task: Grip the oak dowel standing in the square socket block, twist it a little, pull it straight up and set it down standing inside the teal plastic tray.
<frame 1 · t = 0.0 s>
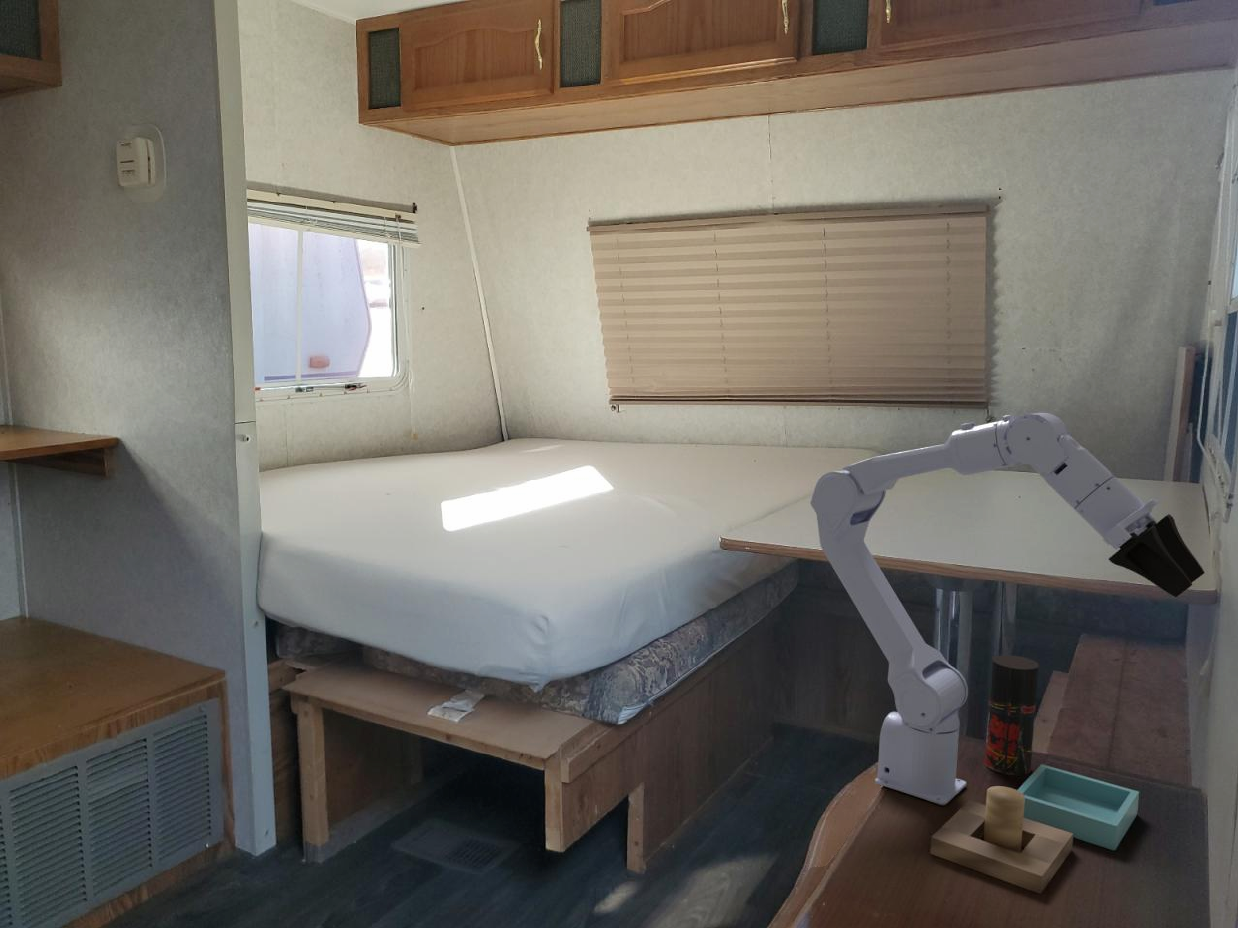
hand: (1190, 584, 102), 32 cm above the counter, tool tilted 50°, fingers open, 7 cm apart
dowel: (1003, 823, 108), in the socket block
deodorant: (1007, 767, 131), on the counter
socket block: (1001, 851, 108), on the counter
tray: (1074, 815, 117), on the counter
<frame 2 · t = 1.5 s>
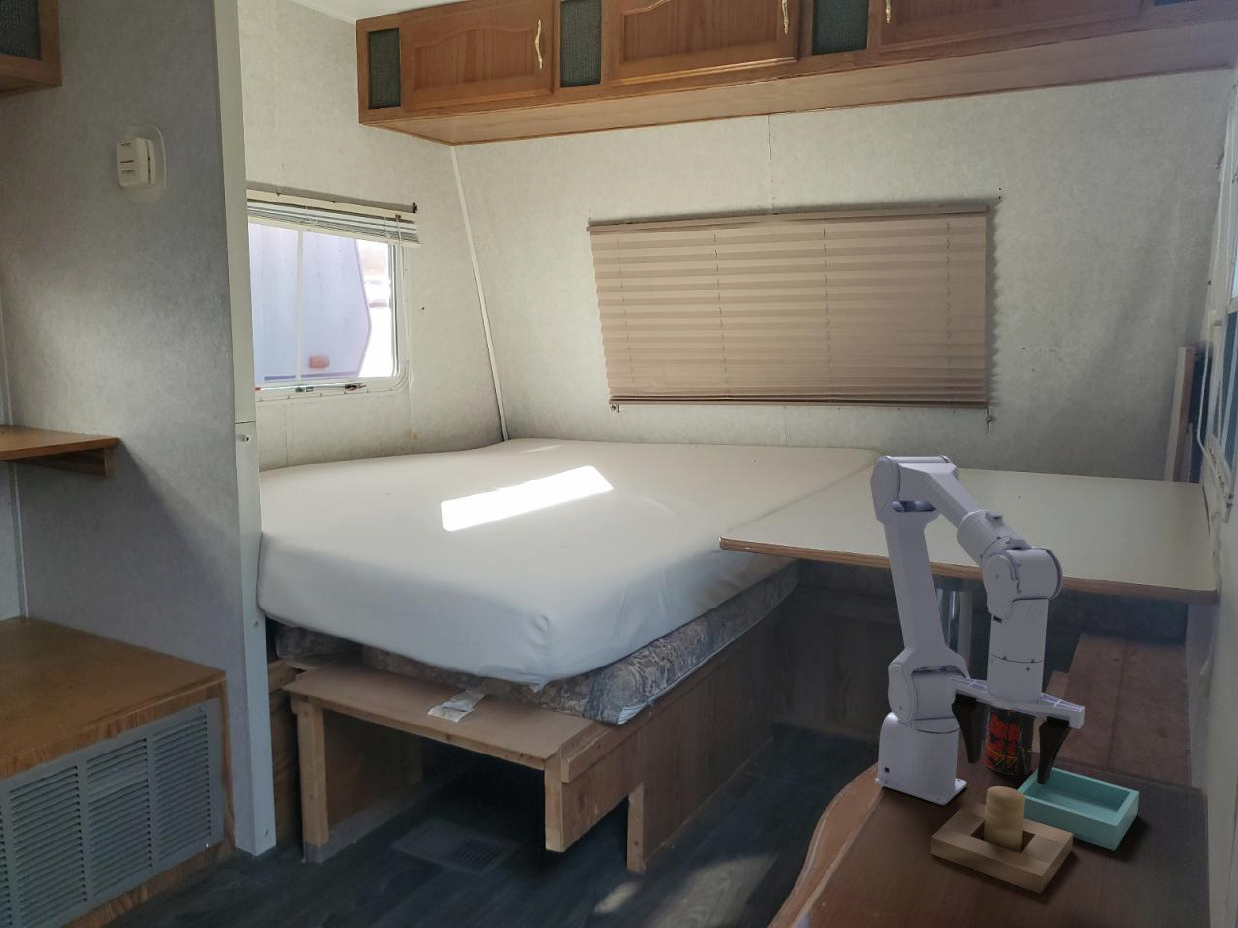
hand: (1007, 770, 107), 10 cm above the counter, tool pointing down, fingers open, 7 cm apart
nothing on the counter moved.
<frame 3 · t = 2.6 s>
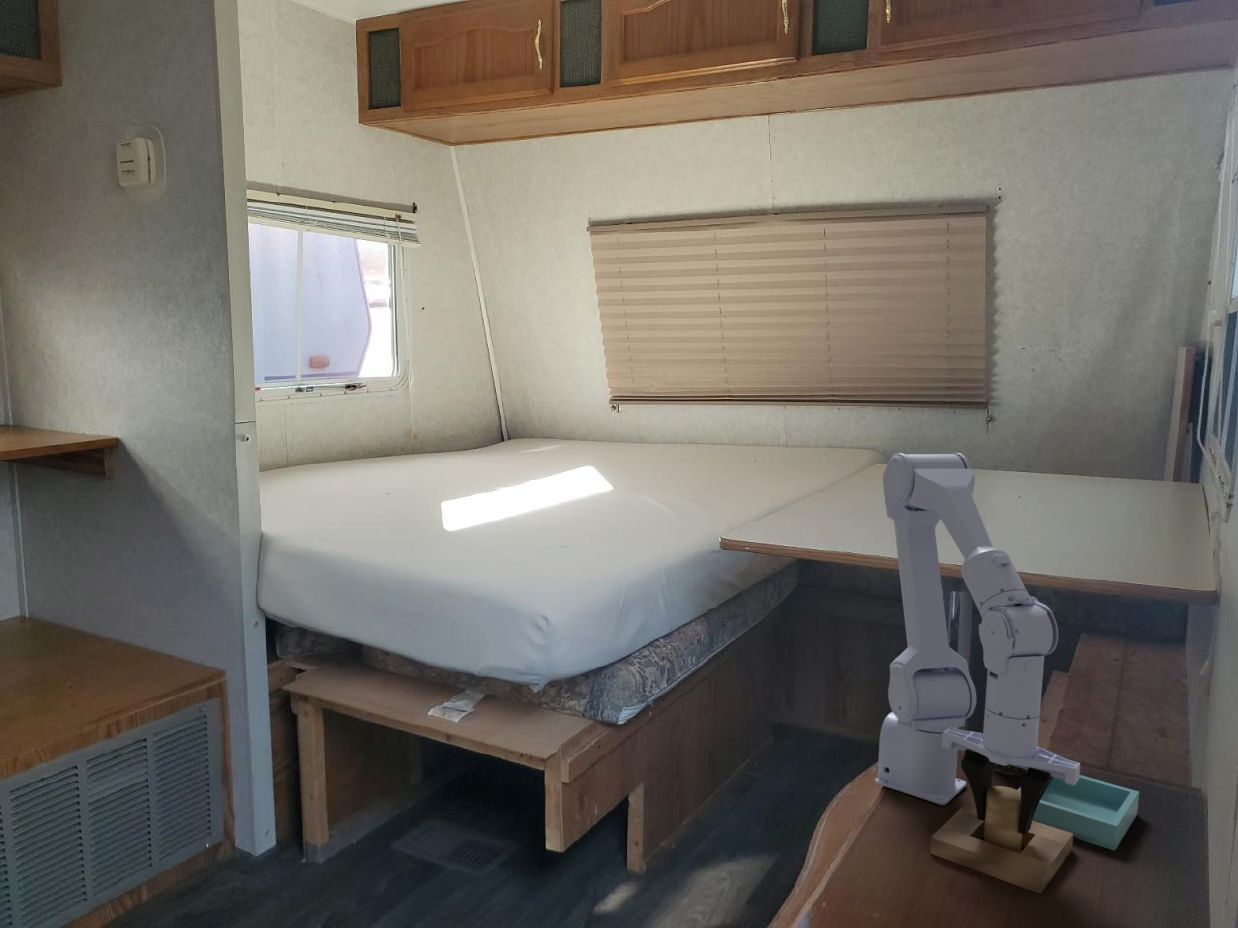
hand: (1003, 823, 108), 3 cm above the counter, tool pointing down, fingers closed on dowel, 4 cm apart
dowel: (1003, 822, 108), in the socket block, touching gripper
everything else where it was.
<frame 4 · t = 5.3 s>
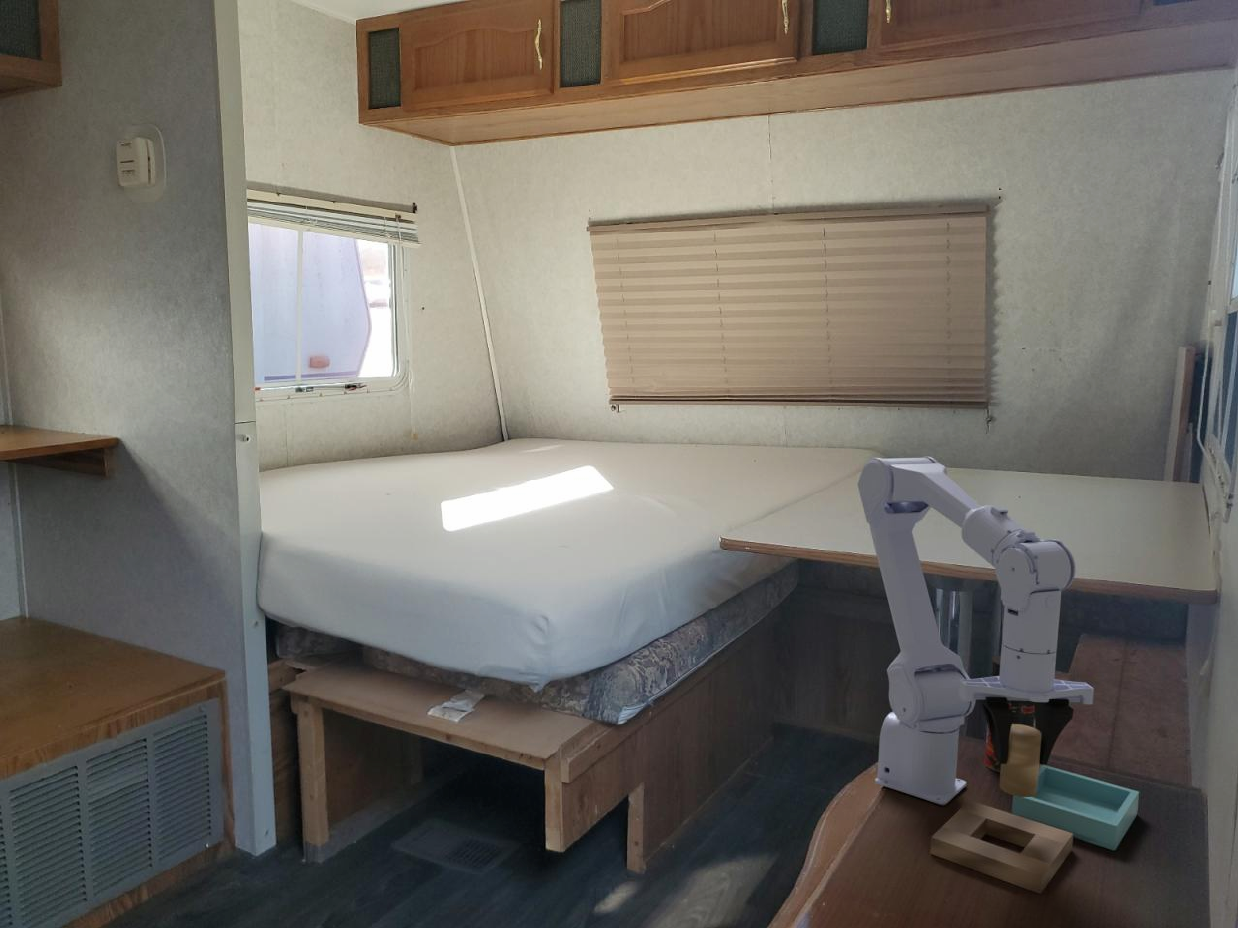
hand: (1020, 760, 108), 10 cm above the counter, tool pointing down, fingers closed on dowel, 4 cm apart
dowel: (1020, 759, 108), point 10 cm above the counter, touching gripper
everything else where it was.
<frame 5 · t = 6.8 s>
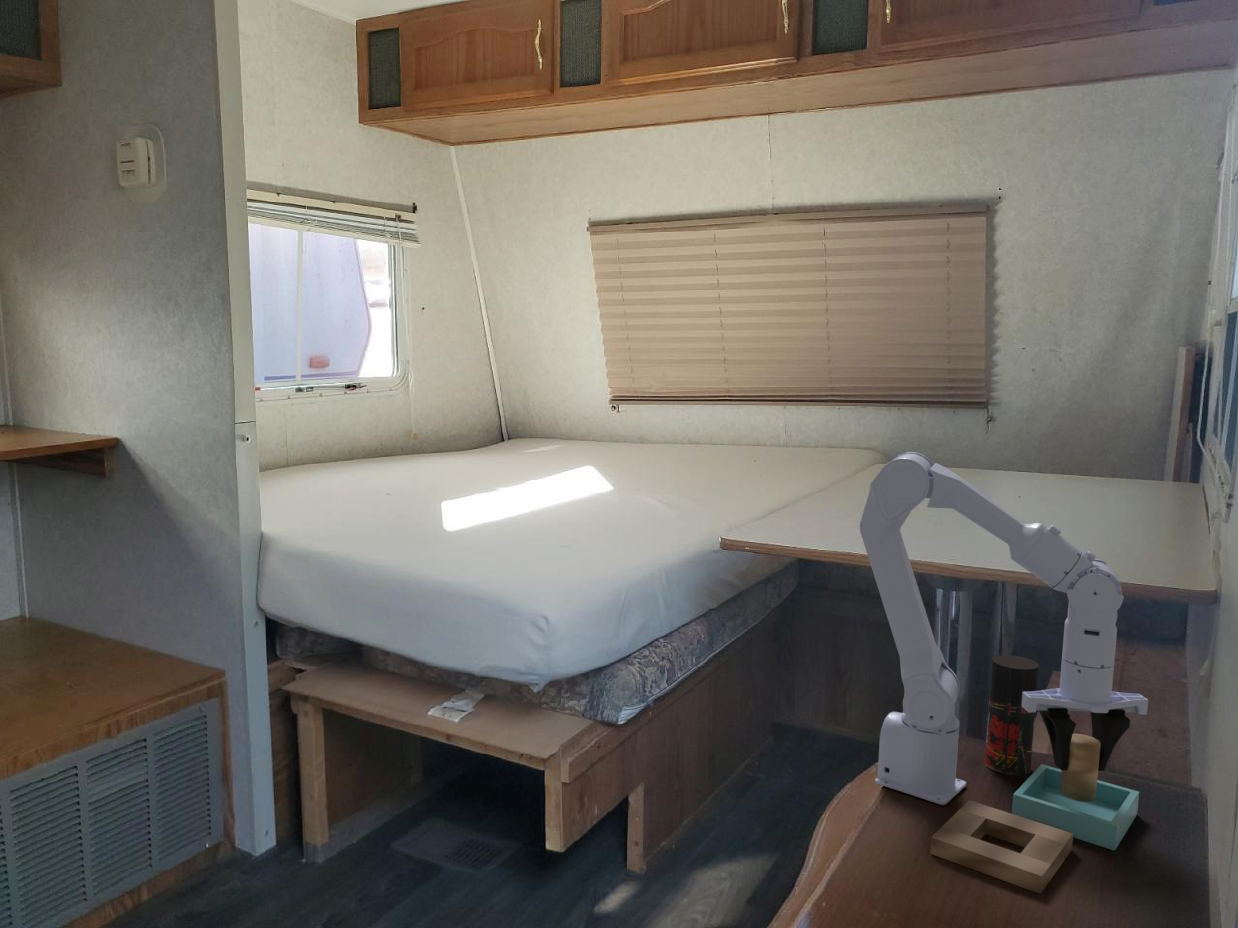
hand: (1079, 767, 116), 6 cm above the counter, tool pointing down, fingers closed on dowel, 4 cm apart
dowel: (1080, 767, 116), point 6 cm above the counter, touching gripper
everything else where it was.
when the fingers open (5 cm above the counter, at t = 7.9 s): dowel stays where it is, resting on tray.
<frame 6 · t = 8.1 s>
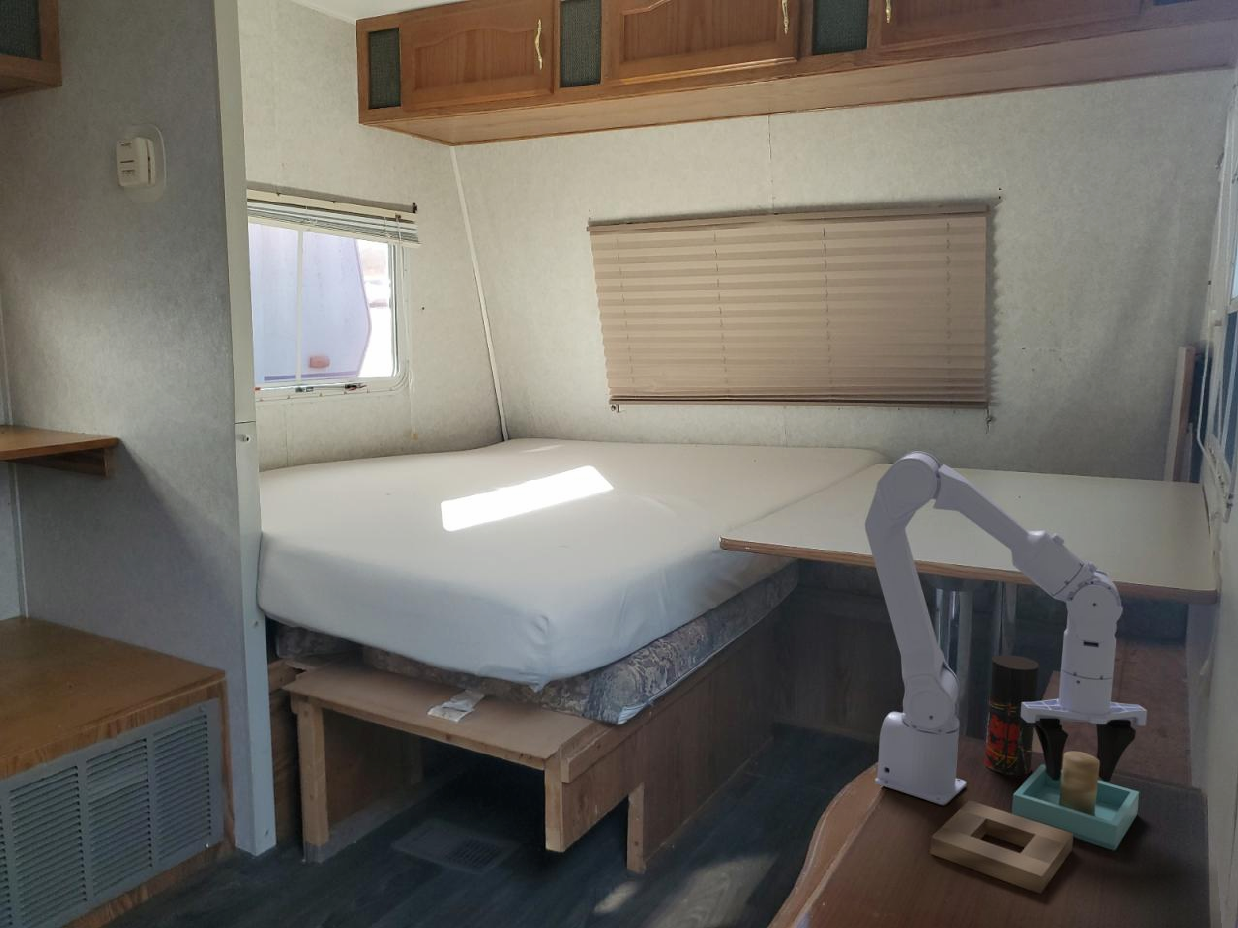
hand: (1077, 777, 116), 5 cm above the counter, tool pointing down, fingers open, 6 cm apart
dowel: (1078, 785, 116), in the tray, point 4 cm above the counter
everything else where it was.
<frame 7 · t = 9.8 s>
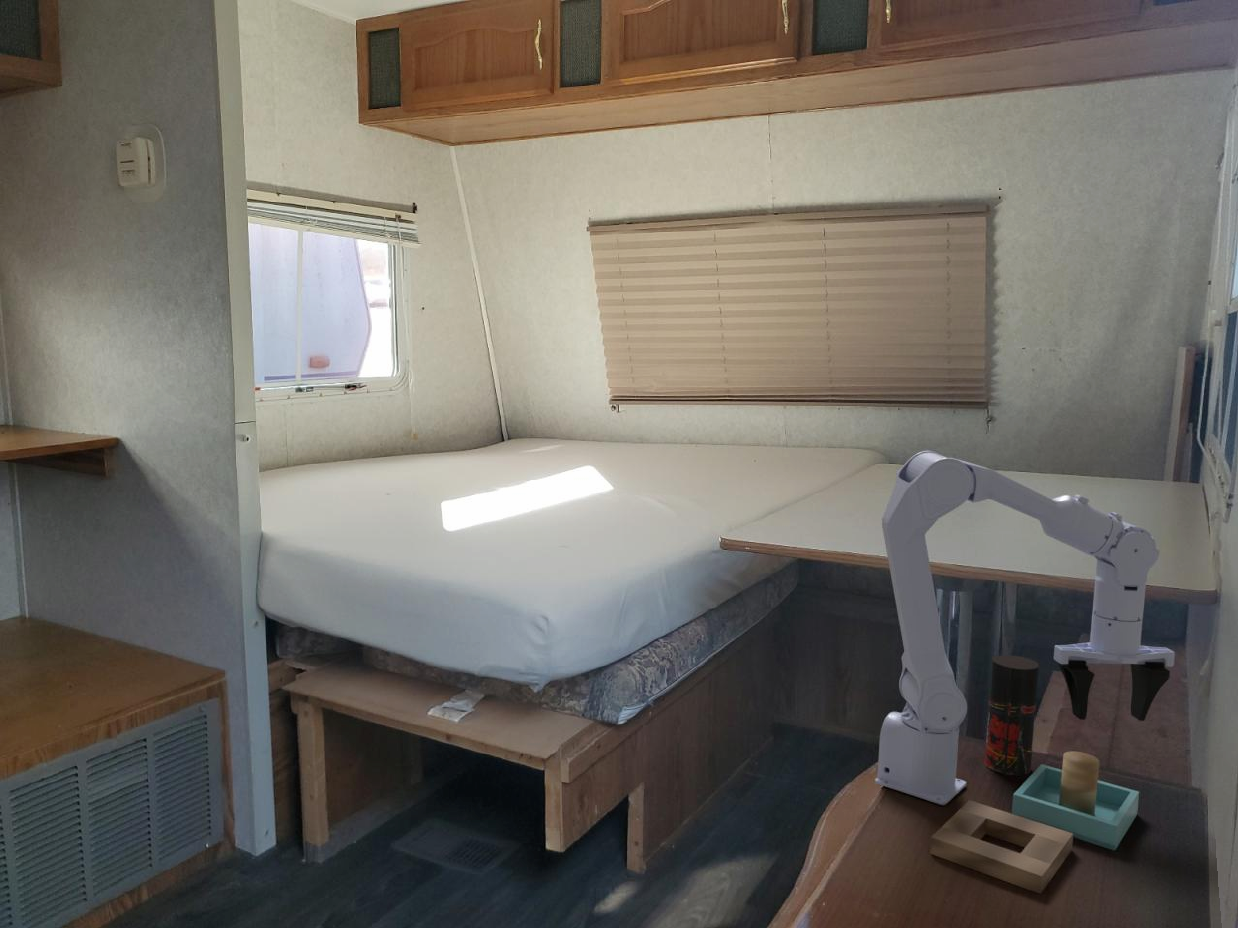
hand: (1108, 717, 122), 10 cm above the counter, tool pointing down, fingers open, 7 cm apart
nothing on the counter moved.
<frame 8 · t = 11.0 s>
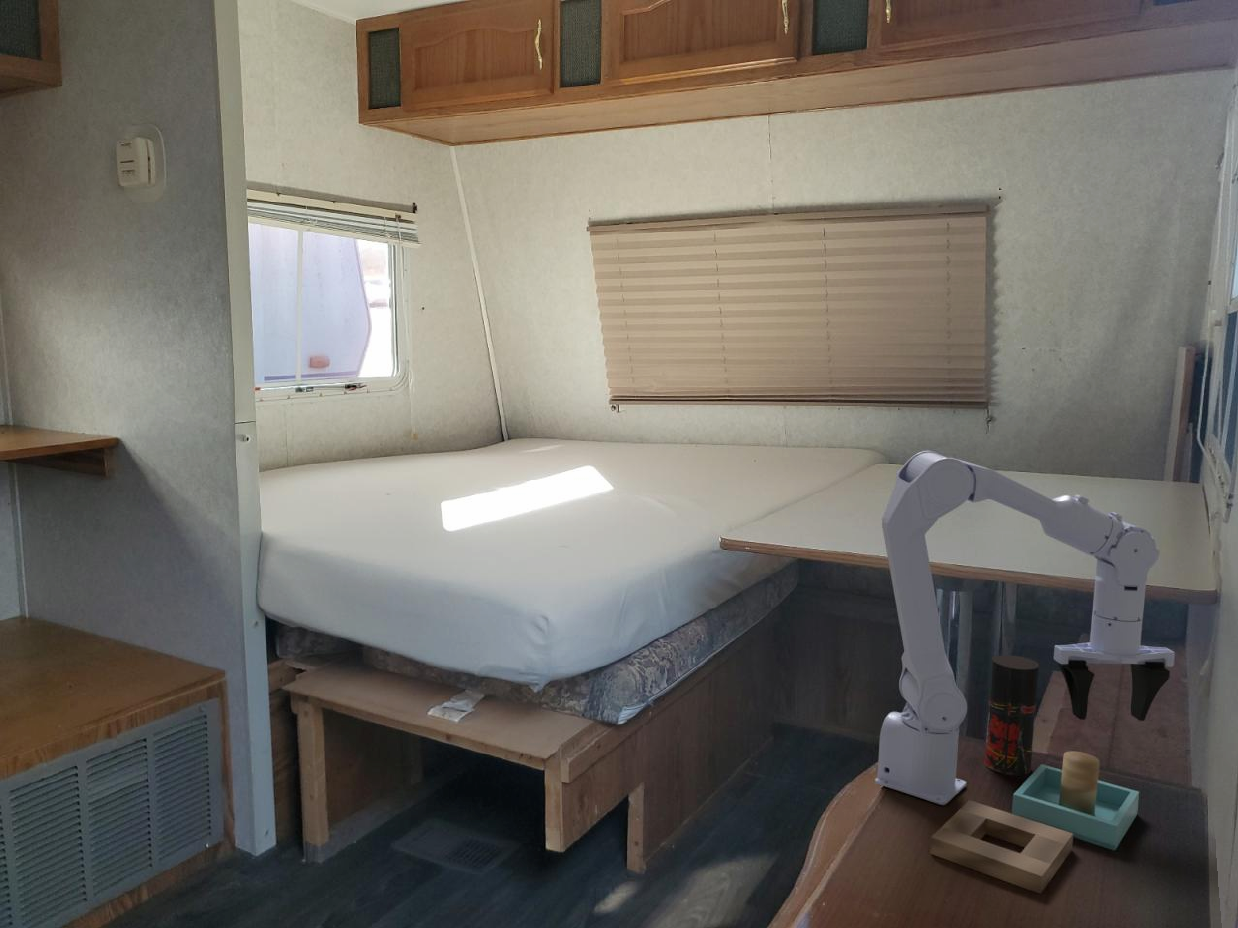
hand: (1108, 717, 122), 10 cm above the counter, tool pointing down, fingers open, 7 cm apart
nothing on the counter moved.
at the end: dowel inside the target area on the tray (0.2 cm from its centre), point 4.1 cm above the tray's base; dowel tilted 1°; the gripper is holding nothing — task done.
